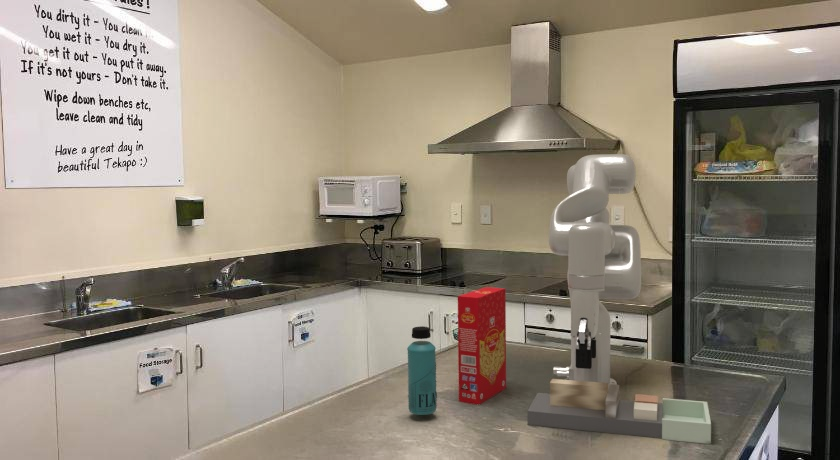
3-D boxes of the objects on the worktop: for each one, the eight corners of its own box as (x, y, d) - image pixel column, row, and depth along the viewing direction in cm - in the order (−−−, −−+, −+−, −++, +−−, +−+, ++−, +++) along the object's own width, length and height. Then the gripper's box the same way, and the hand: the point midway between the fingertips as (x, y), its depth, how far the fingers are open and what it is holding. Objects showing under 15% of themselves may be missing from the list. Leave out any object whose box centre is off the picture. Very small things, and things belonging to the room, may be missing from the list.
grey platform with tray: (527, 425, 150) (527, 407, 149) (538, 404, 163) (538, 387, 162) (710, 444, 138) (711, 424, 138) (706, 420, 151) (707, 401, 151)
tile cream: (633, 418, 144) (633, 408, 144) (634, 411, 148) (634, 402, 148) (656, 420, 143) (657, 411, 143) (657, 413, 147) (657, 404, 147)
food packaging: (478, 404, 164) (477, 297, 162) (458, 401, 166) (457, 296, 164) (506, 388, 176) (505, 288, 174) (487, 384, 179) (486, 287, 177)
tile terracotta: (634, 409, 149) (634, 400, 149) (635, 403, 154) (635, 394, 154) (657, 411, 148) (657, 402, 148) (657, 405, 152) (657, 395, 152)
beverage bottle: (416, 423, 152) (414, 332, 150) (402, 414, 158) (401, 326, 156) (442, 418, 155) (441, 328, 153) (428, 409, 161) (427, 323, 159)
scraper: (546, 411, 149) (546, 388, 149) (555, 394, 160) (555, 373, 160) (615, 418, 144) (615, 394, 144) (619, 400, 156) (619, 378, 155)
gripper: (573, 277, 159) (573, 352, 160) (562, 287, 143) (562, 371, 144) (607, 278, 157) (607, 355, 158) (601, 288, 140) (600, 373, 141)
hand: (586, 362), depth 151 cm, fingers open, 9 cm apart
